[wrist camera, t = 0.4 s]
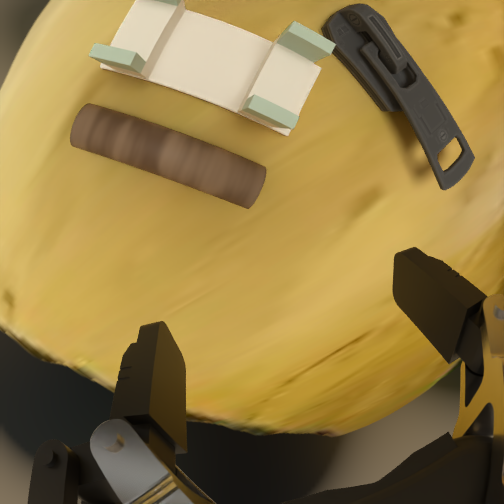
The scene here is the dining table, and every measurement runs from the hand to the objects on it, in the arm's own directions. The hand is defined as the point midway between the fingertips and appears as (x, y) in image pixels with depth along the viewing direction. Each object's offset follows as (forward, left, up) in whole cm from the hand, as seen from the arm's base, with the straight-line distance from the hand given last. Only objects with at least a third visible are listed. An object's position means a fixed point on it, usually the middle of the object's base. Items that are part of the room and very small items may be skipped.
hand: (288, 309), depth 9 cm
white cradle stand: (-11, -7, -24) cm, 28 cm away
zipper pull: (-19, +14, -25) cm, 34 cm away
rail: (0, -7, -25) cm, 26 cm away
